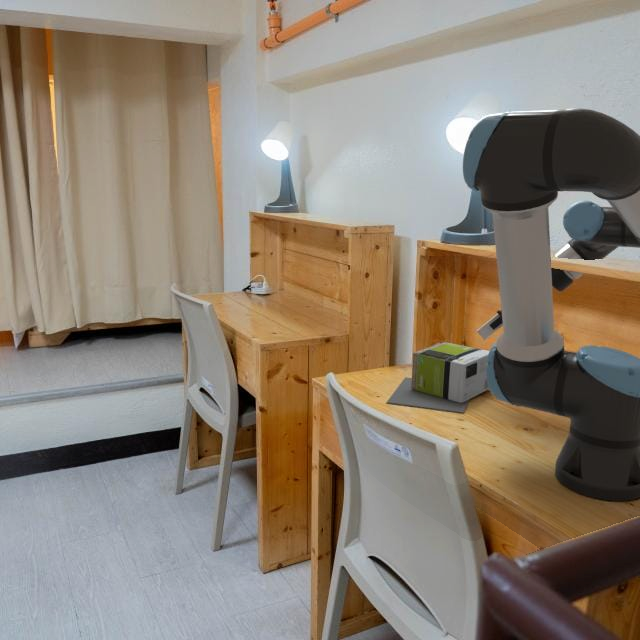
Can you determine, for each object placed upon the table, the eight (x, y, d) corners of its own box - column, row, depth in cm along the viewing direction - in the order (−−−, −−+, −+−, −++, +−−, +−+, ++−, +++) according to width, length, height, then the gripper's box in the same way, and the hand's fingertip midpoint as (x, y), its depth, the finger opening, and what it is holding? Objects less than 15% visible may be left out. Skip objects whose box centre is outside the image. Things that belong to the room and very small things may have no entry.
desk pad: (463, 413, 143) (463, 412, 143) (386, 403, 149) (386, 402, 149) (474, 386, 161) (474, 385, 161) (405, 378, 167) (405, 377, 167)
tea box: (492, 390, 158) (442, 376, 168) (496, 351, 156) (445, 339, 166) (461, 404, 147) (409, 389, 157) (464, 364, 145) (411, 350, 155)
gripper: (576, 285, 132) (489, 354, 141) (574, 276, 144) (494, 340, 153) (551, 259, 133) (466, 329, 142) (551, 252, 145) (473, 317, 154)
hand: (480, 334), depth 148 cm, fingers closed
